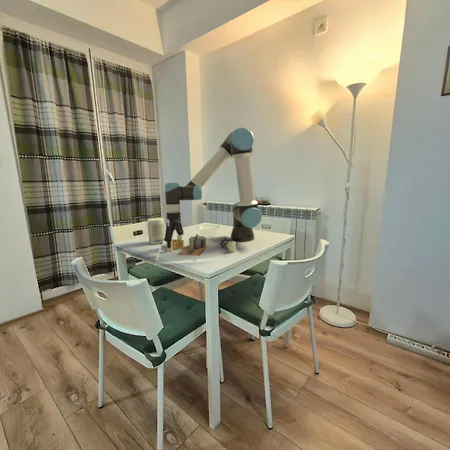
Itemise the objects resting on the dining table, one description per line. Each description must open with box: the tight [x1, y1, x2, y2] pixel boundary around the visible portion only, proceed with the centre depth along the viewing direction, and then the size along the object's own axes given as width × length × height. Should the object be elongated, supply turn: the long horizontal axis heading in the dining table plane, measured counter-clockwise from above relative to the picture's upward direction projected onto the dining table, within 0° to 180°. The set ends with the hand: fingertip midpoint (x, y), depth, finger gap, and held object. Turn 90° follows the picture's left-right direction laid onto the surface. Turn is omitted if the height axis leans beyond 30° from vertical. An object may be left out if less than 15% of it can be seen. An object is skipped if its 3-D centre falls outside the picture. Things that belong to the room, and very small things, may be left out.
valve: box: [219, 237, 237, 253], centre depth 133 cm, size 7×7×12 cm
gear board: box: [177, 233, 211, 257], centre depth 135 cm, size 12×20×8 cm, turn 168°
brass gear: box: [171, 238, 185, 251], centre depth 140 cm, size 9×9×5 cm
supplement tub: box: [146, 217, 165, 245], centre depth 155 cm, size 10×10×15 cm
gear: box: [188, 235, 207, 249], centre depth 139 cm, size 9×9×5 cm
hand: (175, 249), depth 140 cm, fingers open, 13 cm apart
